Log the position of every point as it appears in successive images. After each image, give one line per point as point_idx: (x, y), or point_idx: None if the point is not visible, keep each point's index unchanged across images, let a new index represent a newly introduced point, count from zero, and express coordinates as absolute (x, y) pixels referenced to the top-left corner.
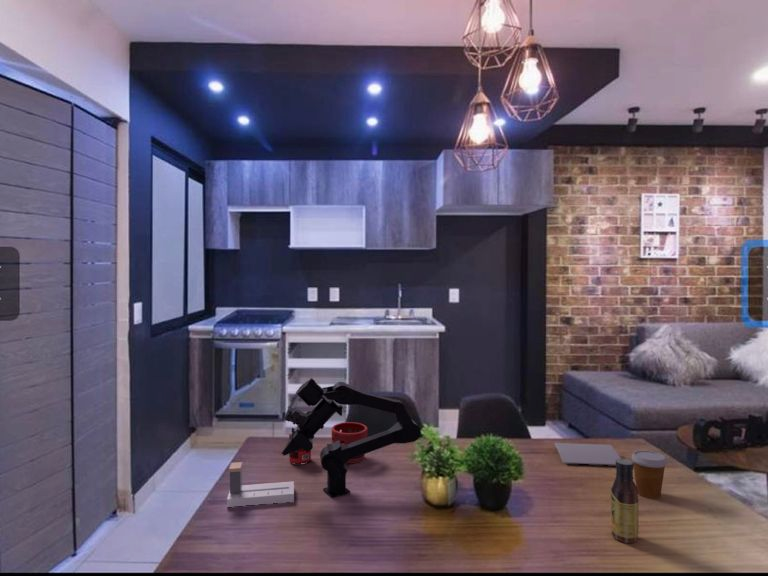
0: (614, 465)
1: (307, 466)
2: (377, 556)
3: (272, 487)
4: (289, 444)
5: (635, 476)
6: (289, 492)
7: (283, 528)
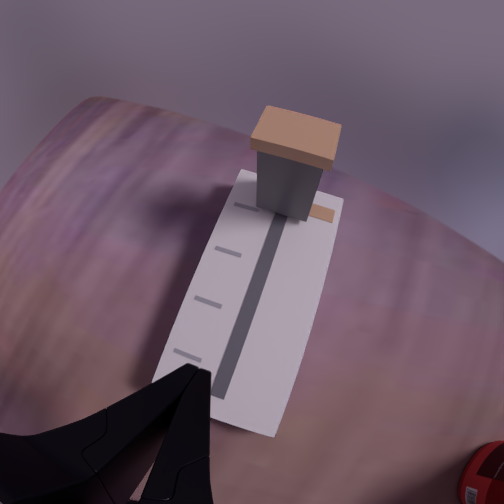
0: None
1: (438, 499)
2: None
3: (256, 335)
4: (90, 422)
5: None
6: None
7: (41, 290)
